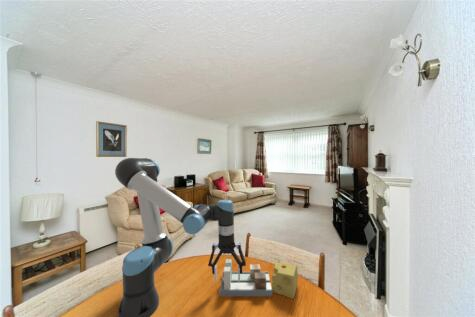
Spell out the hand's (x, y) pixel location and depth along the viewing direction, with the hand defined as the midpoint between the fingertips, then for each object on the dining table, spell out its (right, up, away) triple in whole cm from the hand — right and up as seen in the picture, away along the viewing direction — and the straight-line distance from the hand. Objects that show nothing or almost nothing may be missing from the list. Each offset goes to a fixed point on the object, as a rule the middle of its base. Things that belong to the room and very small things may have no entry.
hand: (227, 280), depth 85 cm
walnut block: (+16, -2, -1) cm, 16 cm away
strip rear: (+10, -4, +7) cm, 12 cm away
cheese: (+28, -4, 0) cm, 28 cm away
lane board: (+9, -5, +3) cm, 10 cm away
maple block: (+14, -3, +6) cm, 15 cm away
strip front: (+10, -4, 0) cm, 10 cm away
